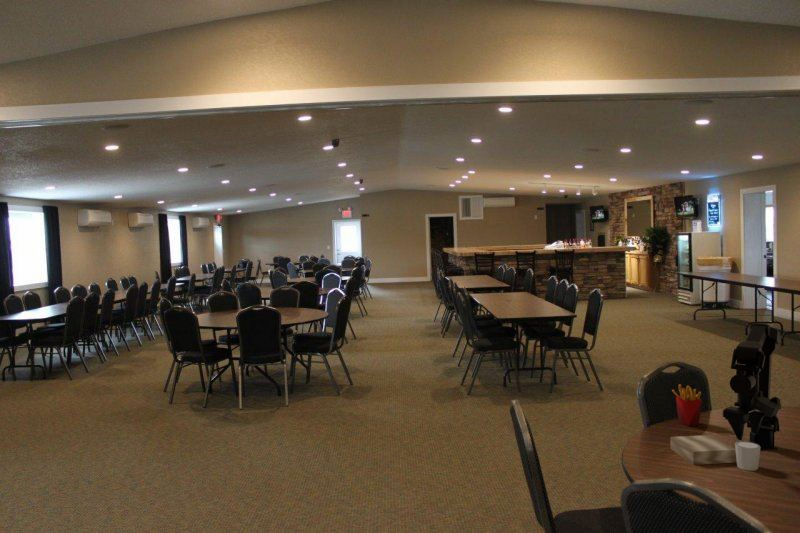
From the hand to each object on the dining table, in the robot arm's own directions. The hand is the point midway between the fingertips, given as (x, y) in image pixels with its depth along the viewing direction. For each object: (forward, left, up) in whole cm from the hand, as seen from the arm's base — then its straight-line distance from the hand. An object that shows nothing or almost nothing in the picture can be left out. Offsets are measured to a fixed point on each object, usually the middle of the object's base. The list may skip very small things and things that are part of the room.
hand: (747, 436), depth 187 cm
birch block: (+8, -11, -10) cm, 17 cm away
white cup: (0, 0, -10) cm, 10 cm away
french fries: (-4, -41, -10) cm, 42 cm away
